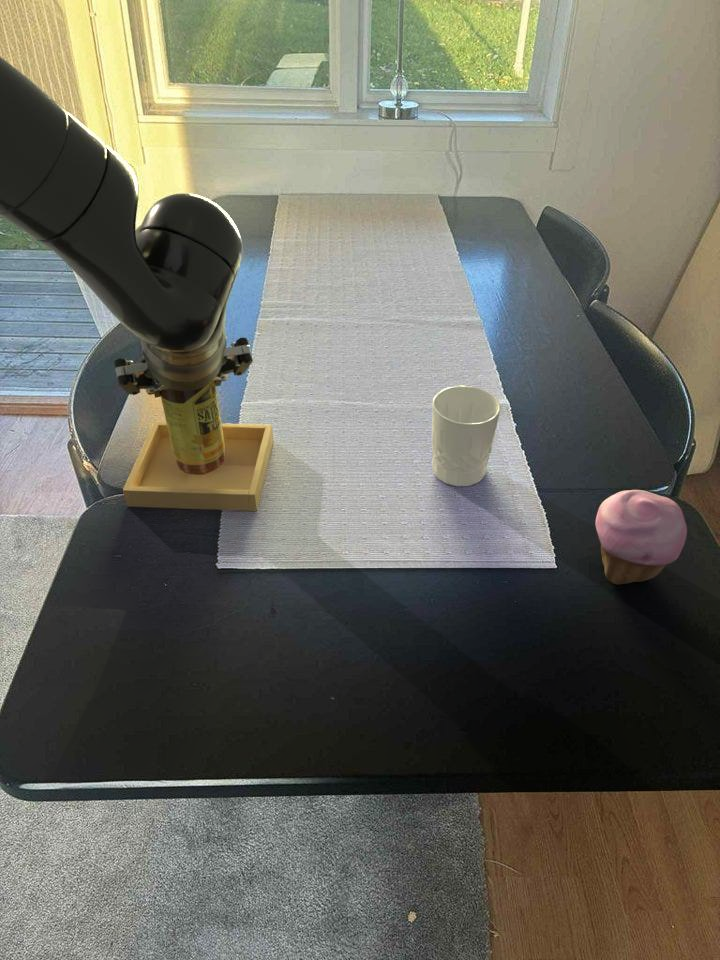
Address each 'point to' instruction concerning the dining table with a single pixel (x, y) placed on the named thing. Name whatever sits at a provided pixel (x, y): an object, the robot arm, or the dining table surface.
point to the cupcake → (639, 535)
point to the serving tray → (216, 490)
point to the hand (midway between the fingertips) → (186, 383)
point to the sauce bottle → (194, 428)
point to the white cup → (463, 433)
